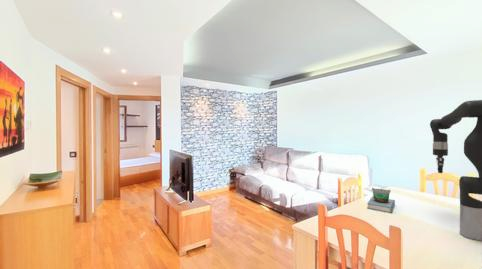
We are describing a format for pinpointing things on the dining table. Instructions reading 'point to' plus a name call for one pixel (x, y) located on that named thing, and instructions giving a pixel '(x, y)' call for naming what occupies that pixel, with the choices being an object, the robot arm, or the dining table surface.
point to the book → (381, 205)
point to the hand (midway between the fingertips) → (440, 171)
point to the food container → (381, 195)
